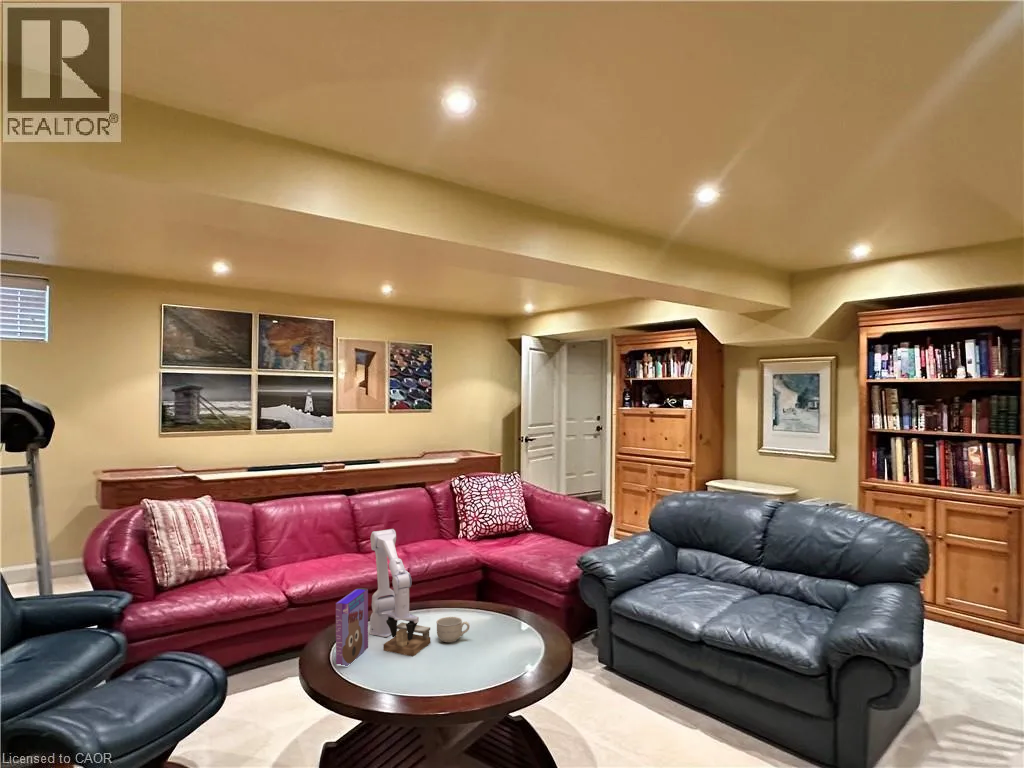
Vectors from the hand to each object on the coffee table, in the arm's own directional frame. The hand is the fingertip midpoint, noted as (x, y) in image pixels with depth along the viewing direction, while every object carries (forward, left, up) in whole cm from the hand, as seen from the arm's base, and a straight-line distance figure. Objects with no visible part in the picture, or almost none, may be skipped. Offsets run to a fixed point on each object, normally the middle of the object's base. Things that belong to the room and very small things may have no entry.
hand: (402, 637), depth 231 cm
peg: (0, 0, -5) cm, 5 cm away
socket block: (0, +3, -5) cm, 6 cm away
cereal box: (-15, -12, -5) cm, 20 cm away
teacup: (+14, +16, -5) cm, 22 cm away
